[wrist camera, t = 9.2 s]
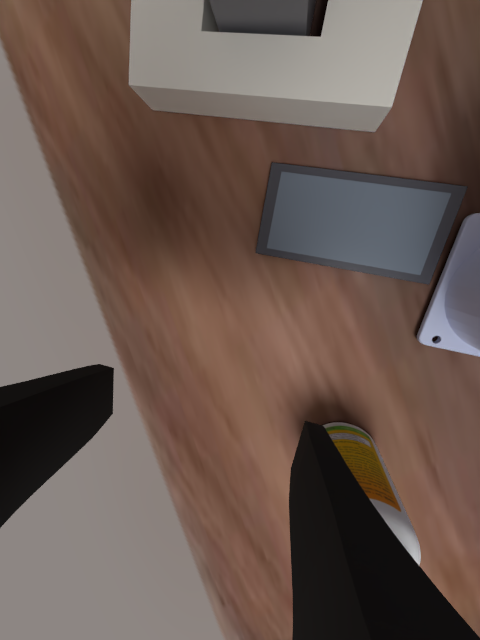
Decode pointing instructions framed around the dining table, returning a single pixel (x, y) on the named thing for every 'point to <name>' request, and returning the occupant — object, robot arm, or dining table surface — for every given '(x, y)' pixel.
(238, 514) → the dining table surface
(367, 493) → the supplement bottle
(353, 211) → the phone slab
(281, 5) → the block
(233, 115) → the outlet plate
